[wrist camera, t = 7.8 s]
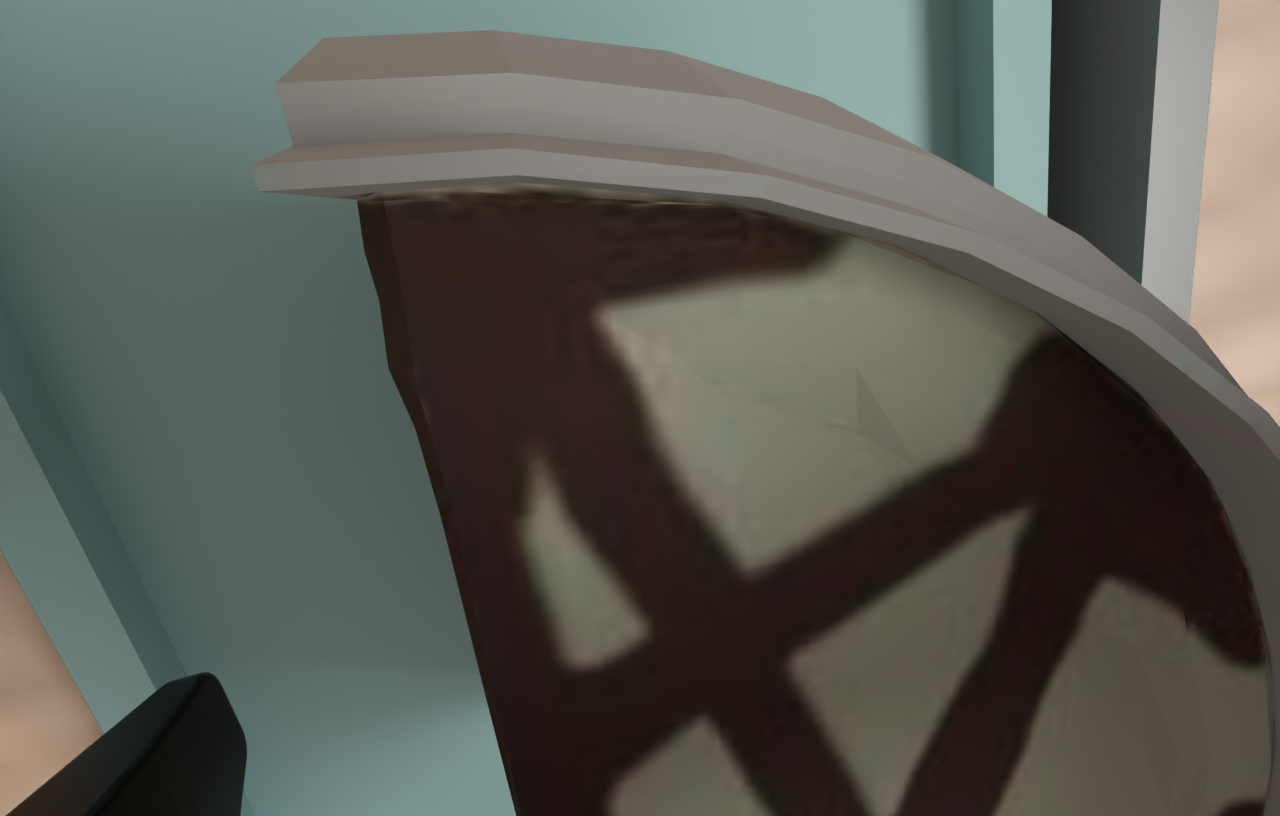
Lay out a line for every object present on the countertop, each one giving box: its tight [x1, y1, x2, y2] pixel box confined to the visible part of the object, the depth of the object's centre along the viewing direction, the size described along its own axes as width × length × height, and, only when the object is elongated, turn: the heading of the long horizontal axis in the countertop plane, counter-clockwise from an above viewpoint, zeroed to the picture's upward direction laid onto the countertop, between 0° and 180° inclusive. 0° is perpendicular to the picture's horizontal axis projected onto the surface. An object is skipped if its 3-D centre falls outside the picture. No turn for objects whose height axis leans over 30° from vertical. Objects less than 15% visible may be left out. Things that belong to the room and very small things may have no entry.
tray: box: [0, 0, 1052, 816], centre depth 14 cm, size 22×17×2 cm
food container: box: [250, 30, 1280, 816], centre depth 10 cm, size 12×6×10 cm, turn 8°
